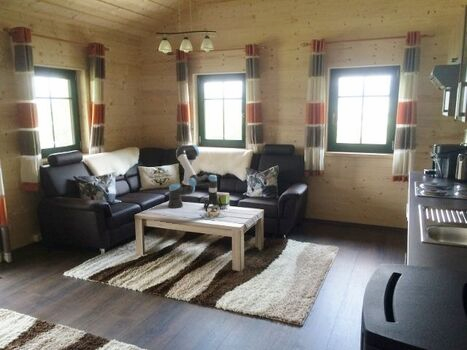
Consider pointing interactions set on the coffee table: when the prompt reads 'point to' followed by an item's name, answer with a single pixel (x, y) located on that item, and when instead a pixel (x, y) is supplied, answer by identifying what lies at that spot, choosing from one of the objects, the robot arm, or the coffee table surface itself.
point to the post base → (213, 217)
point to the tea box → (222, 200)
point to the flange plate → (213, 213)
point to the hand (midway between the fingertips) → (213, 214)
